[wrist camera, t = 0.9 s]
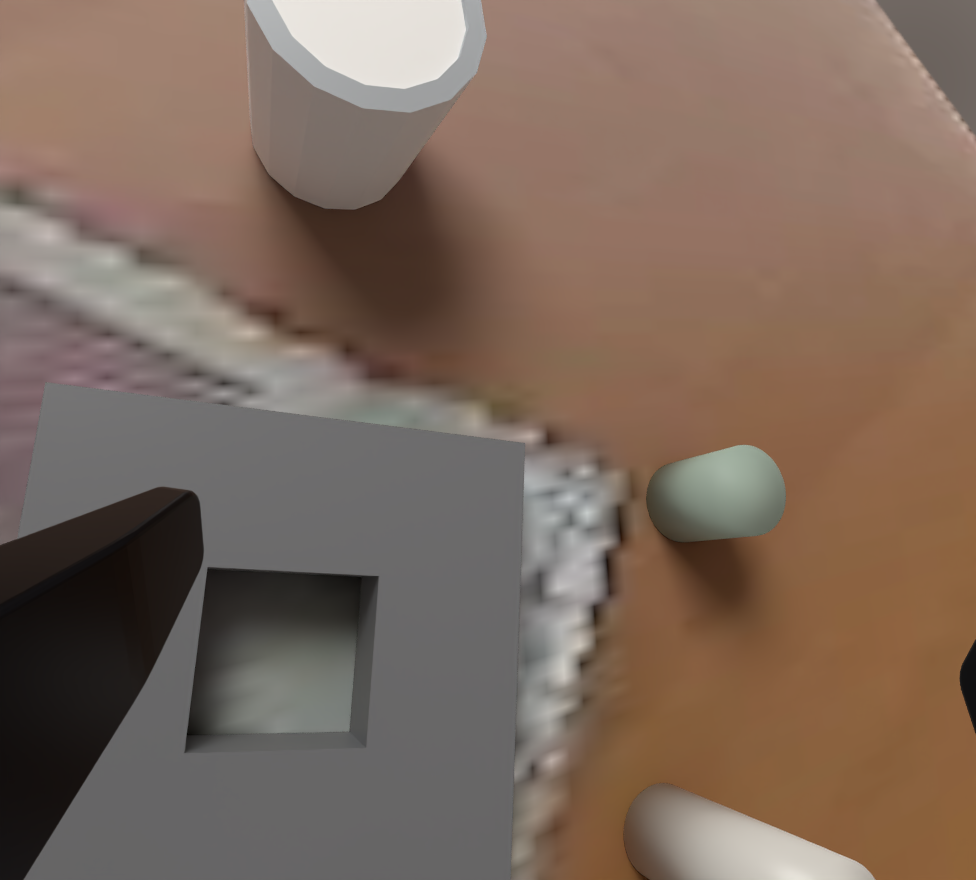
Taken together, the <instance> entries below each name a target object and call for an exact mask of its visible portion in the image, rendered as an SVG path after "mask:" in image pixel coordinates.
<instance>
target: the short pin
mask: <svg viewBox="0 0 976 880" xmlns="http://www.w3.org/2000/svg"><path fill="white" fill-rule="evenodd" d="M646 501H647V509H648V512H649V515H650V518H651V520H652V522H653V524H654V525H655V527H656V528H657V529H658V530H659V531H660V532H661V533H662V534H663V535H664V536H666V537H667V538H669V539H671V540H673V541H676V542H694V541H705V540H716V539H727V538H738V537H749V536H758V535H762V534H765V533H767V532H769V531H770V530H772V529H773V528H774V527H775V526H776V525H777V524H778V522H779V521H780V519H781V517H782V514H783V512H784V508H785V501H786V492H785V485H784V481H783V478H782V475H781V473H780V471H779V469H778V467H777V465H776V464H775V462H774V461H773V460H772V459H771V458H770V457H769V456H768V455H767V454H766V453H765V452H763V451H762V450H760V449H758V448H756V447H753V446H749V445H738V446H735V447H731V448H727V449H723V450H719V451H716V452H712V453H708V454H704V455H700V456H697V457H693V458H689V459H685V460H681V461H677V462H674V463H670V464H667V465H664V466H663V467H661V468H660V469H658V470H657V471H656V472H655V474H654V475H653V476H652V478H651V480H650V482H649V485H648V488H647V496H646Z"/></svg>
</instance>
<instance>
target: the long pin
mask: <svg viewBox="0 0 976 880" xmlns="http://www.w3.org/2000/svg"><path fill="white" fill-rule="evenodd" d="M624 844H625V849H626V853H627V855H628V858H629V860H630V862H631V863H632V865H633V866H634V868H635V869H636V870H637V871H638V872H639V873H641V874H642V875H643V876H645V877H646V878H648V879H649V880H875V879H874V877H873V876H872V874H871V873H870V872H869V871H868V870H867V869H866V868H865V867H864V866H863V865H861V864H860V863H858V862H856V861H854V860H852V859H849V858H847V857H845V856H842V855H840V854H837V853H835V852H833V851H830V850H828V849H826V848H823V847H821V846H818V845H816V844H814V843H811V842H809V841H806V840H804V839H802V838H799V837H797V836H794V835H792V834H790V833H787V832H785V831H782V830H780V829H778V828H775V827H773V826H771V825H768V824H766V823H763V822H761V821H759V820H756V819H754V818H751V817H749V816H747V815H744V814H742V813H739V812H737V811H735V810H732V809H730V808H728V807H725V806H723V805H720V804H718V803H716V802H713V801H711V800H708V799H706V798H704V797H701V796H699V795H696V794H694V793H692V792H689V791H687V790H684V789H682V788H680V787H677V786H675V785H672V784H668V783H659V784H655V785H652V786H649V787H647V788H646V789H644V790H643V791H642V792H641V793H640V794H639V795H638V796H637V797H636V798H635V799H634V801H633V802H632V804H631V806H630V808H629V810H628V813H627V815H626V819H625V824H624Z"/></svg>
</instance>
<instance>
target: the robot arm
mask: <svg viewBox="0 0 976 880" xmlns="http://www.w3.org/2000/svg"><path fill="white" fill-rule="evenodd" d="M203 557H204V543H203V531H202V519H201V507H200V501H199V498H198V496H197V495H196V494H195V493H194V492H193V491H191V490H185V489H178V488H171V487H165V486H162V487H156V488H154V489H151V490H148V491H145V492H143V493H140V494H137V495H135V496H132V497H129V498H126V499H124V500H121V501H118V502H116V503H113V504H110V505H108V506H105V507H102V508H99V509H97V510H94V511H91V512H89V513H86V514H83V515H81V516H78V517H75V518H72V519H70V520H67V521H64V522H62V523H59V524H56V525H53V526H51V527H48V528H45V529H43V530H40V531H37V532H35V533H32V534H29V535H26V536H24V537H21V538H18V539H16V540H13V541H10V542H7V543H5V544H2V545H0V880H24V878H25V877H26V875H27V874H28V872H29V870H30V869H31V867H32V866H33V864H34V862H35V861H36V859H37V858H38V856H39V854H40V853H41V851H42V850H43V848H44V846H45V845H46V843H47V842H48V840H49V838H50V837H51V835H52V833H53V832H54V830H55V829H56V827H57V825H58V824H59V822H60V821H61V819H62V817H63V816H64V814H65V813H66V811H67V809H68V808H69V806H70V805H71V803H72V801H73V800H74V798H75V797H76V795H77V793H78V792H79V790H80V788H81V787H82V785H83V784H84V782H85V780H86V779H87V777H88V776H89V774H90V772H91V771H92V769H93V768H94V766H95V764H96V763H97V761H98V760H99V758H100V756H101V755H102V753H103V751H104V750H105V748H106V747H107V745H108V743H109V742H110V740H111V739H112V737H113V735H114V734H115V732H116V731H117V729H118V727H119V726H120V724H121V723H122V721H123V719H124V718H125V716H126V715H127V713H128V711H129V710H130V708H131V706H132V705H133V703H134V702H135V700H136V698H137V697H138V695H139V693H140V691H141V690H142V688H143V686H144V685H145V683H146V681H147V679H148V677H149V675H150V673H151V671H152V670H153V668H154V666H155V664H156V662H157V660H158V657H159V655H160V653H161V651H162V649H163V647H164V645H165V643H166V641H167V639H168V636H169V634H170V632H171V630H172V628H173V626H174V624H175V622H176V620H177V618H178V615H179V613H180V611H181V609H182V607H183V605H184V603H185V601H186V599H187V597H188V595H189V592H190V590H191V588H192V586H193V584H194V582H195V580H196V578H197V576H198V574H199V571H200V569H201V566H202V562H203ZM960 686H961V691H962V694H963V697H964V700H965V703H966V706H967V709H968V712H969V715H970V718H971V721H972V724H973V727H974V730H975V733H976V640H975V641H974V643H973V645H972V647H971V649H970V651H969V653H968V654H967V656H966V658H965V660H964V662H963V664H962V666H961V671H960Z"/></svg>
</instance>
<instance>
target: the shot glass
mask: <svg viewBox="0 0 976 880" xmlns="http://www.w3.org/2000/svg"><path fill="white" fill-rule="evenodd" d="M244 11H245V31H246V51H247V71H248V90H249V110H250V123H251V133H252V142H253V148H254V149H255V151H256V153H257V155H258V156H259V158H260V160H261V162H262V164H263V165H264V167H265V169H266V171H267V173H268V174H269V175H270V176H271V177H272V178H273V179H274V180H276V181H277V182H278V183H279V184H280V185H281V186H283V187H284V188H285V189H286V190H287V191H288V192H289V193H291V194H292V195H293V196H294V197H297V198H299V199H302V200H304V201H307V202H309V203H312V204H314V205H317V206H319V207H322V208H324V209H350V210H355V209H358V208H361V207H363V206H366V205H369V204H371V203H374V202H377V201H379V200H381V199H382V198H383V197H384V196H385V195H386V194H387V193H388V192H389V191H390V190H391V189H392V188H393V187H394V186H395V185H396V184H397V182H398V181H399V180H400V179H401V177H402V176H403V175H404V173H405V172H406V170H407V169H408V168H409V166H410V165H411V163H412V162H413V161H414V159H415V158H416V156H417V155H418V154H419V152H420V151H421V150H422V148H423V147H424V145H425V144H426V143H427V141H428V140H429V138H430V137H431V136H432V134H433V133H434V131H435V130H436V129H437V127H438V126H439V125H440V123H441V122H442V120H443V119H444V118H445V116H446V115H447V113H448V112H449V111H450V109H451V108H452V106H453V105H454V104H455V102H456V101H457V100H458V98H459V97H460V95H461V94H462V93H463V91H464V90H465V88H466V87H467V86H468V84H469V83H470V81H471V80H472V79H473V77H474V76H475V75H476V73H477V70H478V66H479V63H480V59H481V55H482V52H483V48H484V44H485V41H486V37H487V35H486V29H485V23H484V17H483V11H482V4H481V0H244Z"/></svg>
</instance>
